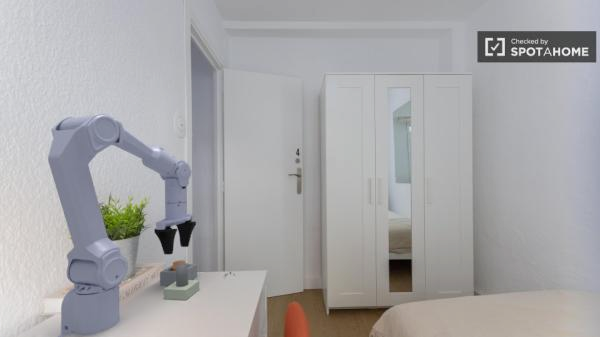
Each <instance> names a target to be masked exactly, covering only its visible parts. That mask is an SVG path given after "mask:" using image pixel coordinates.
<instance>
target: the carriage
mask: <svg viewBox="0 0 600 337" xmlns="http://www.w3.org/2000/svg"><path fill="white" fill-rule="evenodd" d="M188 264H189V263H186V262H185V263H181V264H178V265H176V282H174V283H173V284H171V285H170V286H165V288H163V300H178V301H187V300H188V299H191V297H193V295H195V294H196V293H198V292H199V291H200V280H196V279H194V280H188Z"/></svg>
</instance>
